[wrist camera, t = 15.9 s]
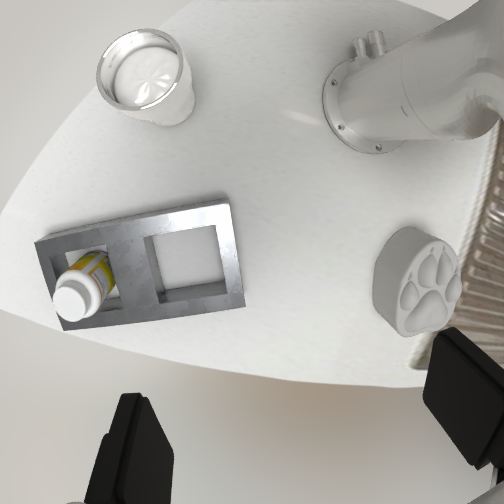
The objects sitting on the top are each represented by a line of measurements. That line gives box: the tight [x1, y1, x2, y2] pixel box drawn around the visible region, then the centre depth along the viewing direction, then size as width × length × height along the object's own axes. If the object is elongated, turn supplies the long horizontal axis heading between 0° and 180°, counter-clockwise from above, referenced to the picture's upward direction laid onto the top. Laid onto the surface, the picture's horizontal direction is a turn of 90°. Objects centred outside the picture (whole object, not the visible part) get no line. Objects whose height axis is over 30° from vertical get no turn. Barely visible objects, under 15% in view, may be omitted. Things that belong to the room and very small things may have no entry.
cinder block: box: [34, 198, 246, 331], centre depth 36 cm, size 12×24×4 cm, turn 97°
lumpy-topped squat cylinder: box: [373, 227, 462, 337], centre depth 38 cm, size 10×13×9 cm
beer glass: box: [96, 29, 195, 126], centre depth 26 cm, size 7×7×15 cm
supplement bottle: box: [53, 251, 116, 322], centre depth 33 cm, size 6×6×10 cm
